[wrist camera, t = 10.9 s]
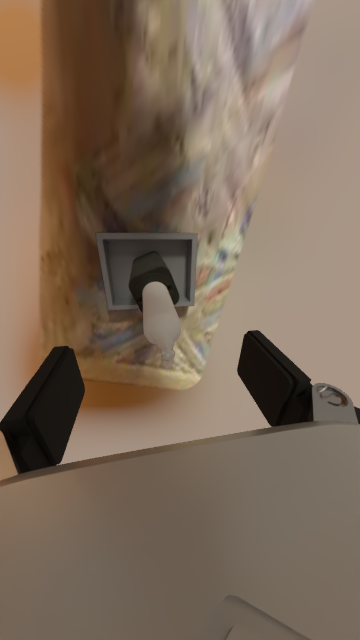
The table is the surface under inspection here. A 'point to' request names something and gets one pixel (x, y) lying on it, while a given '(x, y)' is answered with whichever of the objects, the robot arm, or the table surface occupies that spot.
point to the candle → (156, 301)
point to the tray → (128, 246)
